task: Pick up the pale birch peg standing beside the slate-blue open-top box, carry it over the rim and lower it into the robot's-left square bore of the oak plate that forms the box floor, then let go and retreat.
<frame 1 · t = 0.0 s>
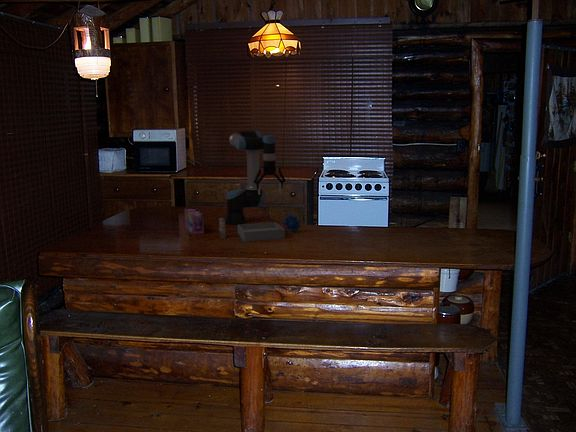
hand: (269, 193, 362), 28 cm above the table, fingers open, 13 cm apart
box: (260, 236, 370), on the table
gum box: (194, 230, 387), on the table
peg: (222, 237, 369), on the table
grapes: (291, 232, 380), on the table
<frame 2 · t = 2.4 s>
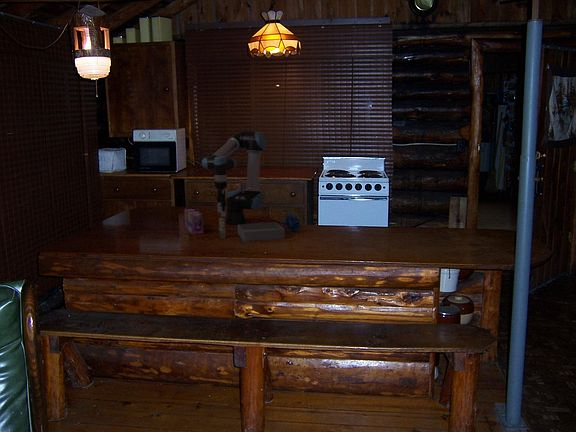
hand: (221, 214, 365), 15 cm above the table, fingers open, 13 cm apart
nothing on the table moved.
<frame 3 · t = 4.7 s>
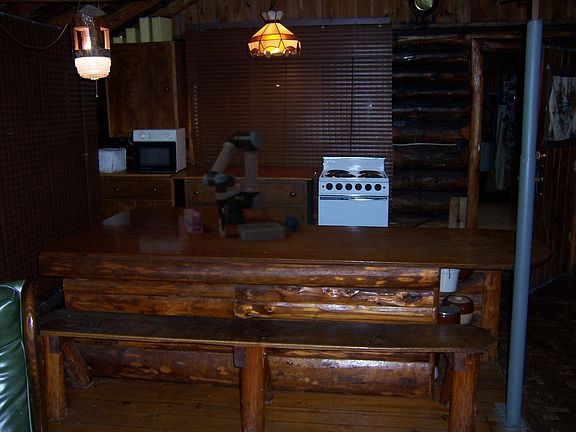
hand: (222, 234, 368), 2 cm above the table, fingers closed on peg, 4 cm apart
peg: (222, 236, 369), on the table, touching gripper
everything else where it was.
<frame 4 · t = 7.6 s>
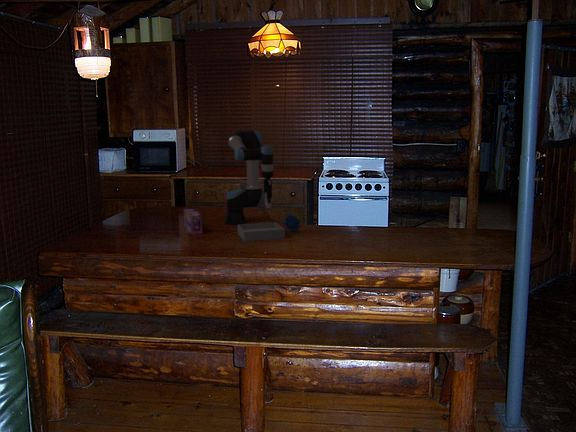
hand: (268, 207, 368), 19 cm above the table, fingers closed on peg, 4 cm apart
peg: (268, 211, 368), point 16 cm above the table, touching gripper
everything else where it was.
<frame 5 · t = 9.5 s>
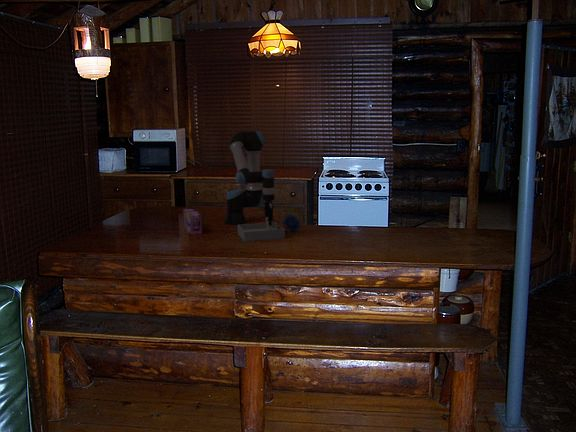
hand: (269, 229, 371), 4 cm above the table, fingers closed on peg, 4 cm apart
peg: (269, 235, 372), resting in box, touching gripper
when the fingers open (3 cm above the table, at t = 10.5 s): peg stays where it is, resting in box.
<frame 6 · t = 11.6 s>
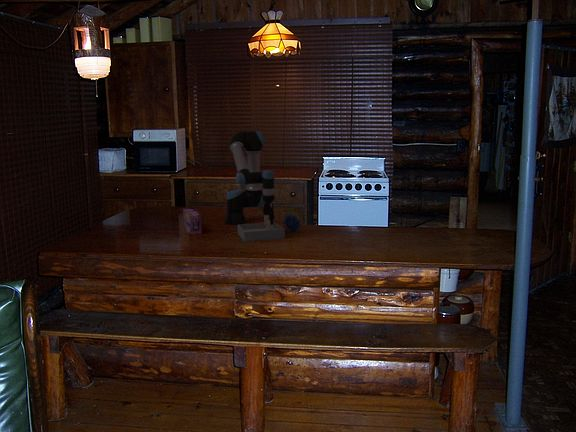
hand: (268, 227, 371), 6 cm above the table, fingers open, 13 cm apart
peg: (269, 235, 372), resting in box
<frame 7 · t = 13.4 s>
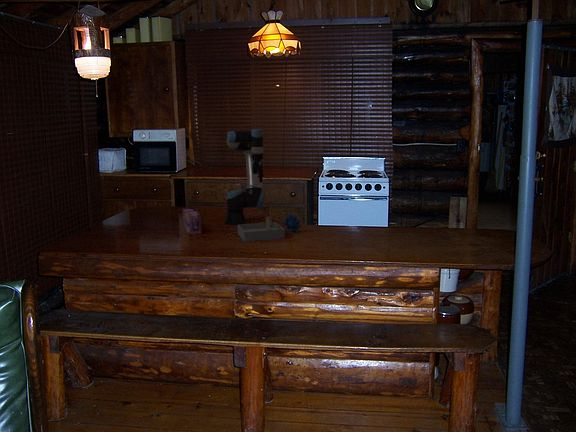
hand: (257, 185, 377), 31 cm above the table, fingers open, 13 cm apart
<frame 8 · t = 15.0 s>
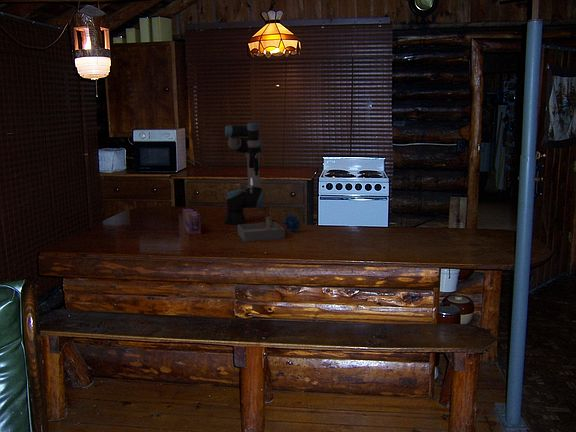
hand: (254, 179, 379), 35 cm above the table, fingers open, 13 cm apart
at the end: peg 0.2 cm from the target spot on the box, point 0.0 cm above the box's base; peg tilted 0°; the gripper is holding nothing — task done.
